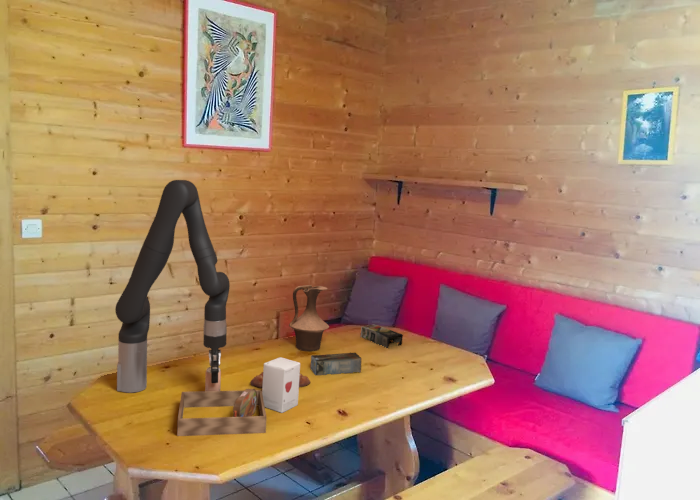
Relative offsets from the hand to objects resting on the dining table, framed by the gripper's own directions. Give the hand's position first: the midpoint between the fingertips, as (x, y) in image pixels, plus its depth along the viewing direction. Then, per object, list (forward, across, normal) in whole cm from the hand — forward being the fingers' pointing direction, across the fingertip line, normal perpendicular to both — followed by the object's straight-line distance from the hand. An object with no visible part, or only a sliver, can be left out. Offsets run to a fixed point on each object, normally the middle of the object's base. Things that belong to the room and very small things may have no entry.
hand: (214, 378), depth 205 cm
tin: (+7, +18, +9) cm, 22 cm away
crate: (+7, +18, +2) cm, 19 cm away
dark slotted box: (+8, -59, +75) cm, 96 cm away
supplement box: (+7, +9, +21) cm, 24 cm away
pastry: (+7, -9, +24) cm, 26 cm away
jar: (+6, 0, -1) cm, 7 cm away
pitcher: (+7, -51, +40) cm, 65 cm away
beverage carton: (+8, -22, +47) cm, 52 cm away
